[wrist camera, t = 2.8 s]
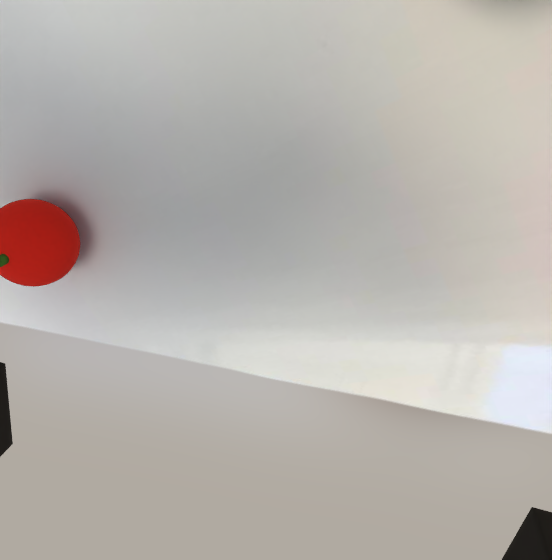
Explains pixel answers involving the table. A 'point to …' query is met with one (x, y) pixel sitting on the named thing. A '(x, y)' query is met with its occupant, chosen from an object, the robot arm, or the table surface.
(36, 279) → the tomato
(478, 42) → the table surface
